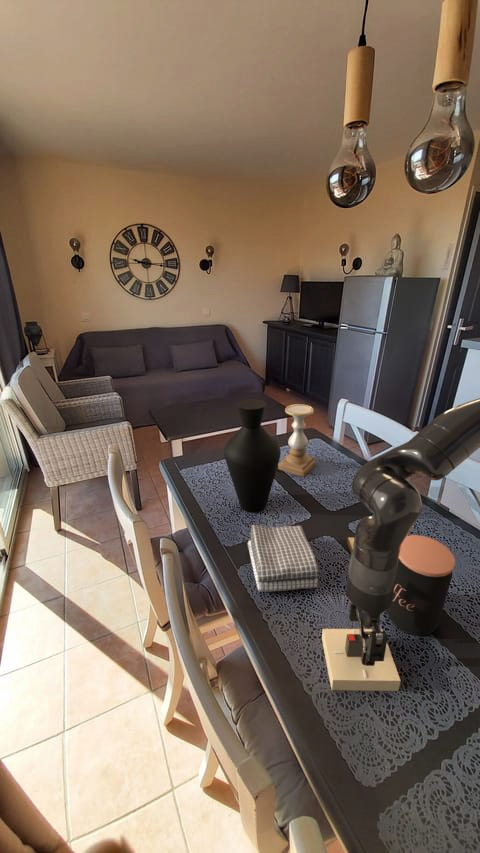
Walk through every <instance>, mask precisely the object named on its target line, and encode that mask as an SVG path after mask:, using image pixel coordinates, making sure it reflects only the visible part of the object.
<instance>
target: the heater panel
mask: <svg viewBox="0 0 480 853" xmlns="http://www.w3.org/2000/svg"><path fill="white" fill-rule="evenodd" d="M364 631H372V628H364ZM381 631H384V630H383V628H381ZM321 633H322V634H321V641H322V646H323V652H324V657H325V662H326V668H327V673H328V679H329V684H330V688H331V691H359V692H361V691H364V692H365V691H366V692H367V691H369V692H399V689H400V686H401V678H400V675H399V672H398V670H397V667H396V664H395V661H394V658H393V655H392V653H391V652H392V651H391V650H390V647H389V645H388V643H387V645H386V651H385V657H384V661H375V664H374V666H365V665H363V664H362V661H361V657H347V655H346V651H345V645H346V638H347V634H359V628H322V632H321Z"/></svg>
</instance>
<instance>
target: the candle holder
mask: <svg viewBox="0 0 480 853" xmlns="http://www.w3.org/2000/svg"><path fill="white" fill-rule="evenodd" d="M314 411H315V409H314V407H312V406H311V405H309V404H302V403H295V404H290V405H288V406H285V408H284V412H285V413H286V414H287V415H289V416H292V418H293V422H292V423H291V427H292V429H293V433H292V434H291V435H290V436H289V438H288V441H287V443H288V446H289V447H290V448H289V453H288V454H287V455H286V456H284V457H283V459H281V461H280V462H279V463H278V466H277V470H280V471H282V472H286V473H289V474H292V475H296V476H299V477H302V478H304V477H306V475H308V474H309V472H310V471H312V470H313V468H314V467H315V466H316V464H317V460H315V458H314V457H313V456H311V455H308V454H306V453H307V450H306V448H307V447H308V445H309V440H308V437H307V436H306V435H305V433H304V431H305V430H304V429H305V428H306V427H307V423H305V419H306V417H308V416H311V415H313V414H314Z"/></svg>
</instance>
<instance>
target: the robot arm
mask: <svg viewBox="0 0 480 853" xmlns="http://www.w3.org/2000/svg"><path fill="white" fill-rule="evenodd" d="M479 449H480V397H479V398H476V399H473V400H470V401H467V402H464V403H461V404H459V405H456V406H454V407H451V408H450V409H448V410H446V411H444V412H443V413H441V414H439V415H438V416H436V417H435V418H433V419H432V420H431V421H430V422H429V423H428V424H426V426H424V427H423V428H422V429H420V430H419V432H417V433H416V434H415V435H414V436H413V437H412V438H411V439H410V440H408V441H406V442H404V443H403V444H400V445H398V446H396V447H394V448H392V449H390V450H388V451H386V452H384V453H382V454H379V455H378V456H376V457H374V458H372V459H369V461H367V462H366V463H364V464H363V465H361V467H360V468H359V469H358V470H357V471H356V473H355V475H354V477H353V479H352V483H351V490H352V493H353V495H354V496H355V497H356V499H357V500H358V501H359V502H360V503H361V504H362V505H363V507H365V508H366V509H367V510H368V512H369V513H371V515H370V516H368V515H367V516H364V517H363V518H361V519H360V520H359V521H358V523H357V524H356V527H355V532H354V536H353V537H354V544H353V551H352V554H351V553H350V557H349V563H348V571H347V577H346V578H347V579H346V586H345V591H346V595H347V598H348V599H349V600H348V603H349V605H350V608H349V613H348V618H349V621H350V622H357V623H358V629H359V634H360V636H361V637H362V638H363V651H362V656H361V661H362V664H363V665H365V666H374V664H375V661H384V657H385V651H386V645H387V644H388V636H389V635H388V633H387V631H386V630H385V631H384V630H383V631H381V629H382V624H381V621H382V614H383V613H384V612H386V610H387V609H388V608H389V607H390V605H391V602H392V597H393V593H394V588H395V583H396V578H397V572H398V559H399V554H400V549H401V544H402V542H403V541H404V539H405V538H406V536H409V535H408V534H409V533H410V532H411V530H412V528H413V526H414V525H415V524H416V522H417V521H418V519H419V517H420V516H421V513H422V509H423V508H422V507H423V503H422V497H421V494H420V491H419V490H418V489H417V488H416V486H414V485H413V484H412V483H411V482H409V481H408V480H407V479H410V478H412V477H415V476H417V477H423V478H425V479H427V480H431V481H440V480H442V479H444V478H446V477H447V476H448V475H449V474H450V473H452V472H453V471H455V469H456V468H458V467H459V466H460V465H461V464H462V463H464V462H465V461H466V460H467V459H468V458H470V457H471V456H472V455H473V454H474V453H476V452H477V451H478V450H479ZM365 628H371V629H372V631H364V629H365ZM367 639H369V641H368V643H367Z"/></svg>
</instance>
